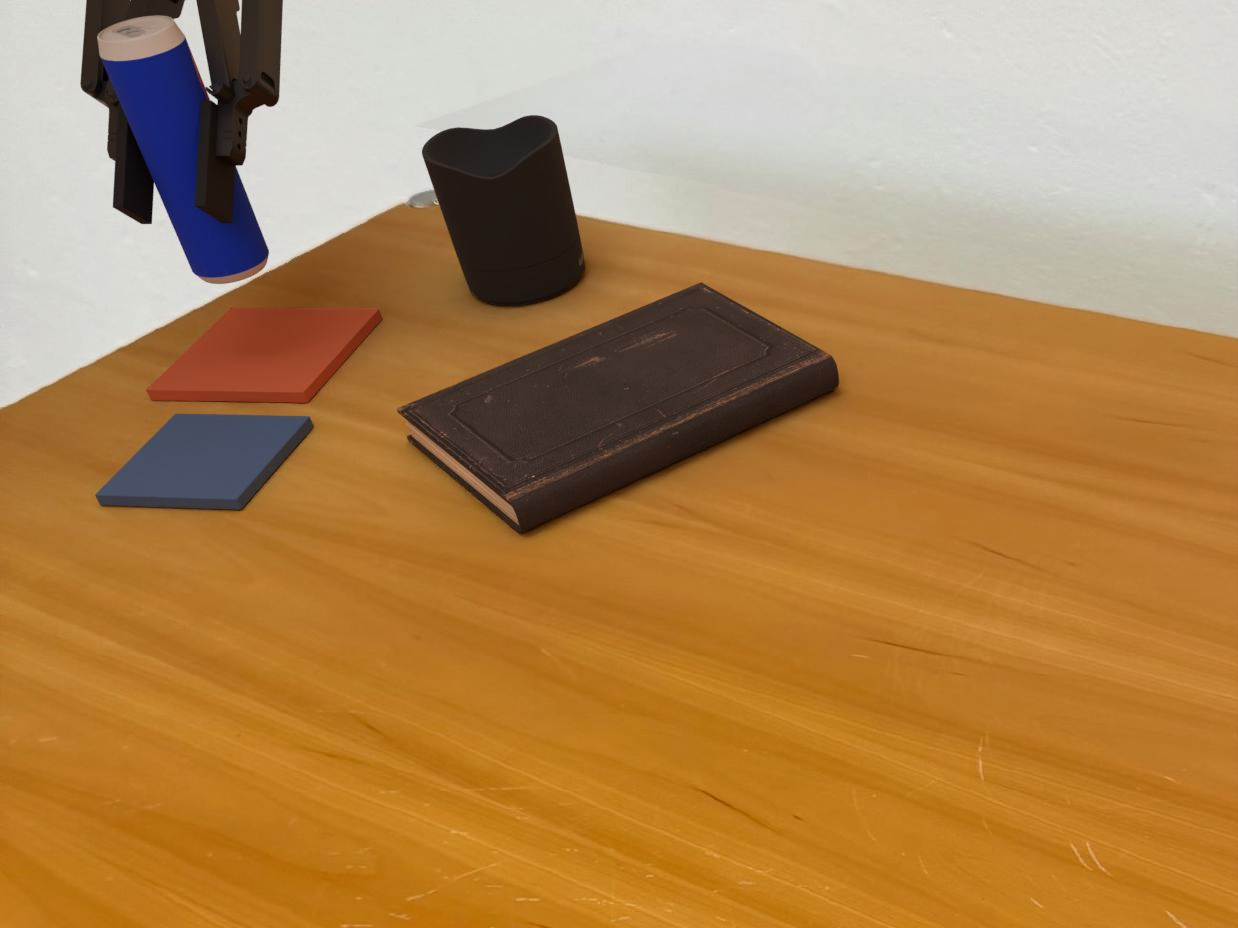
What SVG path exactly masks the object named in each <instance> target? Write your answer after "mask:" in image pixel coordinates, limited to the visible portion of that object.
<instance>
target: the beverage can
mask: <svg viewBox="0 0 1238 928" xmlns="http://www.w3.org/2000/svg"><path fill="white" fill-rule="evenodd" d="M97 39H98V46H99V54H100V57H101V60H102V62H103V64H104V67H105V69H106V71H107V74H108V76H109V78H110V81H111V83H112V85H113V88H114V90H115V92H116V95H117V97H118V99H119V102H120V104H121V106H122V109H123V111H124V113H125V116H126V118H127V120H128V123H129V125H130V127H131V130H132V132H133V134H134V137H135V139H136V141H137V144H138V146H139V148H140V151H141V153H142V155H143V158H144V160H145V162H146V165H147V167H148V169H149V172H150V174H151V176H152V179H153V181H154V187H155V188H156V190H157V193H158V195H159V197H160V200H161V202H162V205H163V206H164V209H165V212H166V213H167V216H168V218H169V221H170V224H171V226H172V228H173V230H174V232H175V234H176V237H177V240H178V241H179V242H178V243H179V244H180V246H181V249H182V251H183V253H184V255H185V258H186V260H187V262H188V265H189V267H190V270H191V272H192V273H193V274H194V275H195V276H197V277H198V278H199V279H201V280H202V281H203V282H205V283H208V284H212V285H225V284H226V285H227V284H232V283H238V282H240V281H243V280H247V279H249V278H252V277H253V276H255V275H257V274H259V273H260V272H262V271H263V270H264V269H265V267H266V266H267V263H268V259H269V256H270V250H269V247H268V245H267V242H266V240H265V236H264V234H263V232H262V229H261V227H260V224H259V221H258V219H257V217H256V214H255V211H254V209H253V207H252V204H251V201H250V198H249V195H248V194H247V191H246V189H245V186H244V183H243V181H242V178H241V176H240V172H239V170H238V168H237V166H235V184H234V202H233V220H232V223H220V222H219V221H217V220H216V219H214V218H212V217H211V216H209V215H208V214H206V213H205V212H203V211H201V210H200V209H198V208H197V207H195V191H196V173H197V155H198V137H199V119H200V102H201V101H206V100H211V99H210V96H209V93H208V92H207V91H206V88H205V87H206V86H205V83H204V81H203V78H202V76H201V73H200V70H199V67H198V65H197V63H196V61H195V58H194V55H193V53H192V50H191V47H190V45H189V43H188V40H187V38H186V35H185V34H184V33H183V31H182V30H181V28H180V27H179V25H178V24H177V22H176V21H175V19H174V20H173V19H172V18H171V17H168V16H160V15H156V16H145V17H139V18H134V19H129V20H126V21H122V22H119V23H117V24H114V25H112V26H110V27H108V28H106V29H104V30H103V31H101V32H100V33H99V34H98V36H97Z"/></svg>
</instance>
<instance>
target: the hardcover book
mask: <svg viewBox="0 0 1238 928" xmlns="http://www.w3.org/2000/svg"><path fill="white" fill-rule="evenodd" d="M838 369H839V368H838V365H837V362H836V360H835V358H834V357H833V356H832V354H830V353H828V352H826V351H825V350H823V349H821V348H819V347H817V346H815V345H814V344H812V343H810V342H809V341H807V340H805V339H803V338H802V337H799V336H798V335H796V334H794V333H793V332H791V331H789V330H787V329H785V328H783V327H782V326H780V325H778V324H776V323H775V322H773V321H771V320H770V319H767V318H766V317H764V316H763V315H761V314H759V313H757V312H755V311H753V310H751V309H749V308H748V307H746V306H745V305H743V304H741V303H739V302H737V301H735V300H734V299H733V298H730V297H728V296H727V295H725V294H724V293H721V292H719V291H718V290H716V289H714V288H712V287H711V286H709V285H707V284H705V283H703V282H702V281H701V282H697V283H695V284H693V285H691V286H689V287H686V288H684V289H681V290H678V291H677V292H674V293H672V294H669V295H667V296H665V297H661V298H660V299H657V300H655V301H652V302H650V303H648V304H645V305H643V306H641V307H638V308H636V309H633V310H630V311H628V312H626V313H623V314H621V315H618V316H616V317H614V318H611V319H609V320H607V321H604V322H602V323H599V324H597V325H594V326H592V327H590V328H587V329H585V330H582V331H579V332H578V333H575V334H573V335H570V336H568V337H566V338H563V339H561V340H558V341H556V342H553V343H551V344H549V345H546V346H544V347H542V348H538V349H536V350H534V351H531V352H529V353H527V354H524V355H522V356H519V357H517V358H514V359H513V360H510V361H508V362H505V363H503V364H500V365H498V366H495V367H493V368H491V369H489V370H486V371H483V372H481V373H478V374H476V375H474V376H471V377H469V378H467V379H464V380H461V381H459V382H457V383H455V384H452V385H449V386H447V387H445V388H443V389H440V390H437V391H435V392H433V393H431V394H428V395H425V396H423V397H420V398H418V399H416V400H413V401H410V402H409V403H406V404H403V405H401V406H399V407H397V408H396V411H397V414H399V415H400V416H401V417H402V418H404V419H405V420H406V425H405V426H406V427H407V428H408V429H409V431H410V434H409V435H406V440H407V441H409V442H410V443H411V444H412V445H413V446H414V447H415V448H417V449H418V450H419V451H420V452H421V453H423V454H424V455H425V456H426V457H428V458H429V460H431V461H432V462H433V463H434V464H436V465H437V466H438V467H439V468H441V469H442V470H443V471H444V472H445V473H446V474H448V475H449V476H450V477H451V478H452V479H454V480H455V481H456V482H457V483H459V484H460V485H461V486H462V487H463V488H465V490H467V491H468V492H469V493H470V494H471V495H473V496H474V497H475V498H476V499H477V500H479V501H480V502H481V503H482V504H483V505H485V506H486V507H487V508H488V509H489V510H491V511H492V512H493V513H494V514H496V515H497V516H498V517H499V518H500V519H501V520H502V521H504V522H505V523H506V524H507V525H509V526H510V527H511V528H512V529H514V530H515V531H516V532H517V533H518V534H523V533H525V532H527V531H530V530H531V529H533V528H536V527H538V526H540V525H542V524H545V523H546V522H549V521H551V520H553V519H555V518H558V517H560V516H562V515H564V514H567V513H568V512H571V511H572V510H575V509H577V508H579V507H582V506H583V505H585V504H588V503H591V502H593V501H595V500H597V499H599V498H601V497H603V496H605V495H607V494H610V493H611V492H614V491H616V490H618V489H620V488H623V487H625V486H627V485H630V484H631V483H635V482H636V481H638V480H640V479H643V478H644V477H646V476H649V475H652V474H653V473H655V472H657V471H660V470H662V469H664V468H667V467H669V466H670V465H673V464H675V463H677V462H679V461H681V460H684V459H686V458H688V457H690V456H692V455H694V454H696V453H698V452H701V451H703V450H705V449H707V448H709V447H712V446H714V445H716V444H719V443H721V442H722V441H725V440H727V439H729V438H732V437H734V436H735V435H739V434H740V433H742V432H744V431H747V430H748V429H751V428H754V427H755V426H757V425H759V424H761V423H763V422H766V421H769V420H770V419H773V418H775V417H777V416H779V415H781V414H783V413H785V412H788V411H790V410H792V409H795V408H797V407H798V406H801V405H803V404H805V403H808V402H810V401H812V400H814V399H816V398H819V397H820V396H823V395H824V394H827V393H829V392H831V391H833V390H836V389H838V388H839V385H840V375H839V370H838Z"/></svg>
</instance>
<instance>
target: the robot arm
mask: <svg viewBox="0 0 1238 928" xmlns="http://www.w3.org/2000/svg"><path fill="white" fill-rule="evenodd" d="M185 1H186V0H85V13H84V14H85V15H84V29H83V41H82V42H83V43H82V57H81V69H80V88H81V90H82V91H83V92H84V93H85V94H86V95H88V96H90V97H91V98H93V99H94V100H95V101H96V102H99V103H100V104H101V105H103V106H105V107H106V108H107V109H108V126H107V143H106V146H107V147H106V151H107V155H108V158H109V159H110V160H112V161H114V172H113V173H114V175H113V176H114V177H113V192H112V195H113V196H112V208H113V209H115V210H117V212H118V211H119V212H120V213H121V214H123V215H125V216H127V217H129V218H130V219H132V220H134V221H135V222H137V223H139V224H141V225H152V224H153V210H154V209H153V208H154V193H155V192H154V190H155V183H154V181H153V179H152V176H151V174H150V172H149V169H148V167H147V165H146V162H145V160H144V158H143V155H142V153H141V151H140V148H139V146H138V144H137V141H136V139H135V137H134V134H133V132H132V130H131V127H130V125H129V123H128V120H127V118H126V116H125V113H124V111H123V109H122V106H121V104H120V102H119V99H118V97H117V95H116V92H115V90H114V88H113V85H112V83H111V81H110V78H109V76H108V74H107V71H106V69H105V67H104V64H103V62H102V60H101V57H100V54H99V46H98V39H97V36H98V34H99V33H100V32H101V31H103V30H104V29H106V28H108V27H110V26H112V25H114V24H117V23H119V22H122V21H126V20H129V19H134V18H139V17H145V16H156V15H160V16H168V17H171V18H172V19H173V20H174V21H175V19H179V18H180V17H181V15H182V11H183V9H184V5H185ZM195 2H196V6H197V13H198V18H199V23H200V24H199V25H200V30H201V34H202V40H203V46H204V51H205V52H204V53H205V57H206V63H207V68H208V74H209V79H210V84H211V85H209V86H205V88H206V91H207V94H208V95H210V96H212V97H213V98H214V99H216V100H217V103H215V102H214V101H213V100H211V99H210V100H206V101H201V102H200V119H199V137H198V155H197V173H196V191H195V207H197V208H198V209H200V210H201V211H203V212H205V213H206V214H208V215H209V216H211V217H212V218H214V219H216V220H217V221H219V222H220V223H232V220H233V202H234V184H235V166H236V167H237V166H238V167H239V166H240V167H241V166H244V163H245V161H246V158H247V156H246V155H247V143H248V142H247V141H248V123H249V117H250V116H251V115H252V114H253V112H254V110H255V109H258V108H259V107H262V106H266V107H267V108H268V107H269V108H272V107H274V106H276V105H277V104H278V102H279V100H280V90H281V89H280V87H281V65H282V64H281V62H282V61H281V60H282V35H283V6H284V0H241V8H240V2H239V0H195ZM240 10H241V13H240V14H241V15H240V24H239V19H238V18H239V17H238V12H240Z"/></svg>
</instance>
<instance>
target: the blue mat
mask: <svg viewBox="0 0 1238 928" xmlns="http://www.w3.org/2000/svg"><path fill="white" fill-rule="evenodd" d="M313 428H314V424H313V421H312V418H311V416H309V415H276V414H275V415H274V414H273V415H271V414H270V415H269V414H267V415H266V414H223V413H222V414H221V413H219V414H218V413H217V414H215V413H214V414H213V413H174V414H173V415H172V416H171V417H170V418H169V419H168V420H167V421H166V422H165V423H164V424H163V425H162V426H161V427H160V428H159V429H158V430H157V431H156V432H155V433H154V435H152V436H151V437H150V438H149V439H148V441H146V442H145V444H144V445H143V446H141V447H140V448H139V450H138V451H136V453H135V454H134V455H133V456H132V457H130V459H129V460H127V461H126V463H124V464H123V466H122V467H121V468H120V469H119V470H118V471H117V472H115V474H114V475H113V476H112V477H110V479H109V480H108V481H107V482H106V483H105V484H104V485H102V487H101V488H100V489H99V490H98V491H97V492H96V493H95V494H94V496H95V498H96V500H97V502H98V504H99V506H111V507H112V506H113V507H137V508H138V507H141V508H144V507H145V508H172V509H200V510H201V509H202V510H203V509H204V510H231V511H233V510H235V511H236V510H237V511H241V510H243V508H244V507H245V506H246V505H247V504H248V503H249V501H250V500H252V498H253V497H254V496H255V495H256V494H257V493H258V492H259V490H260V489H261V488H262V487H263V486H264V484H265V483H266V482H267V480H269V479H270V477H271V476H272V475H273V474H274V473H275V472H276V471H277V469H279V467H280V466H281V465H282V464H283V462H284V461H285V460H286V459H287V458H288V457H289V456H290V455H291V453H292V452H293V451H294V450H295V449H296V448H297V446H298V445H299V444H300V443H301V442H302V441H303V439H305V437H306V436H307V435H308V434H309V433H310V432H311V430H312V429H313Z"/></svg>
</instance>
